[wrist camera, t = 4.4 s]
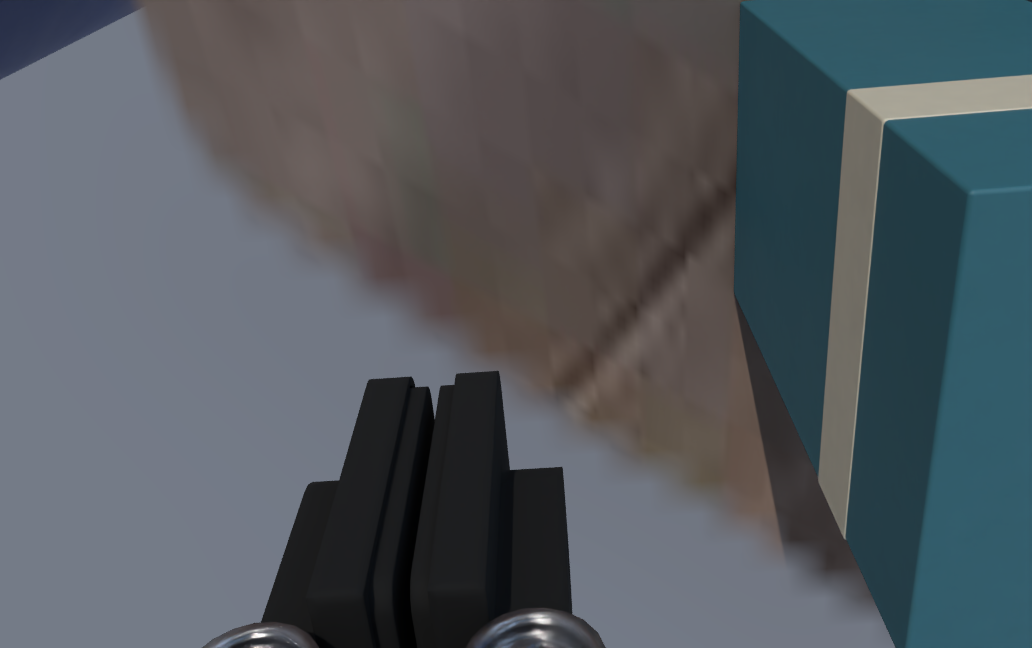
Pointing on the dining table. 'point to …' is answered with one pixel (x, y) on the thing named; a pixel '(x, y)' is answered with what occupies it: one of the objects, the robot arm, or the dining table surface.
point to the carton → (900, 289)
